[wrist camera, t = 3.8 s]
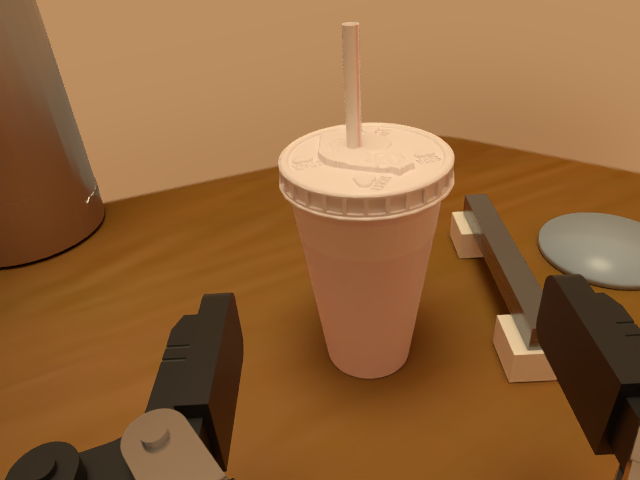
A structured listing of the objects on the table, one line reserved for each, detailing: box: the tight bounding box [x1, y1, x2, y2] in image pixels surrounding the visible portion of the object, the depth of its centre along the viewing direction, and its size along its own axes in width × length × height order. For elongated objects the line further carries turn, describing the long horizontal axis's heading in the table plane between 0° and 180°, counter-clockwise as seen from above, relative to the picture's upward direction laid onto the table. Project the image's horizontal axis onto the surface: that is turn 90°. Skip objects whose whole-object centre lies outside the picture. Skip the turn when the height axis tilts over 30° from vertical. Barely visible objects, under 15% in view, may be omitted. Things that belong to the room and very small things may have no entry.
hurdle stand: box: [450, 212, 557, 382], centre depth 26 cm, size 11×2×2 cm, turn 1°
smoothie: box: [278, 22, 454, 379], centre depth 20 cm, size 6×6×14 cm
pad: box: [538, 213, 640, 290], centre depth 29 cm, size 7×7×1 cm
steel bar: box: [463, 194, 543, 351], centre depth 26 cm, size 11×1×1 cm, turn 1°
